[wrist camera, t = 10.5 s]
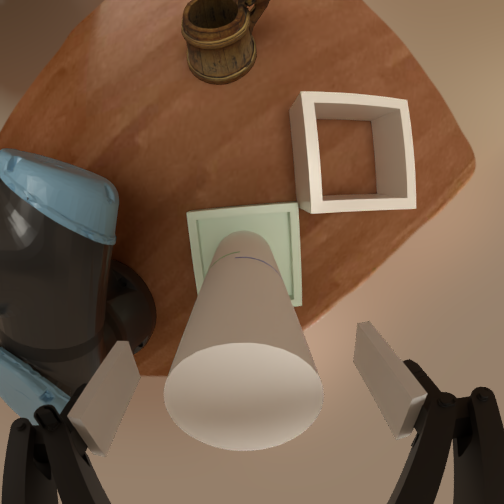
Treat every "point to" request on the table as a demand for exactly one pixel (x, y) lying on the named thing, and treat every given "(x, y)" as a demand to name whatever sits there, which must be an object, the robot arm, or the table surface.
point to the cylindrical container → (243, 355)
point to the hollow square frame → (385, 150)
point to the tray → (258, 221)
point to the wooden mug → (221, 38)
